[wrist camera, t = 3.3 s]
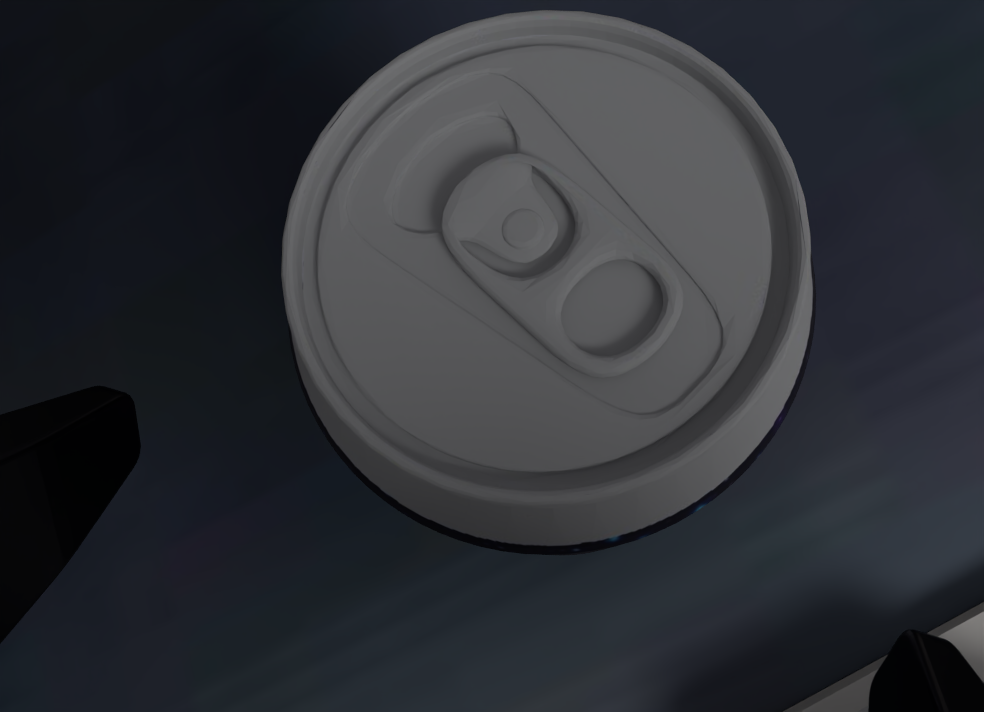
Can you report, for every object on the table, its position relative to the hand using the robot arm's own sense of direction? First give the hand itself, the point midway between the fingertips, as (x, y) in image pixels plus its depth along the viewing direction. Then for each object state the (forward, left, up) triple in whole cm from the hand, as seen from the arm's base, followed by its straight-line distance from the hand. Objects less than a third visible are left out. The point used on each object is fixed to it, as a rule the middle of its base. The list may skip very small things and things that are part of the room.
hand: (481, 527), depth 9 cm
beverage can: (+2, +2, -10) cm, 10 cm away
